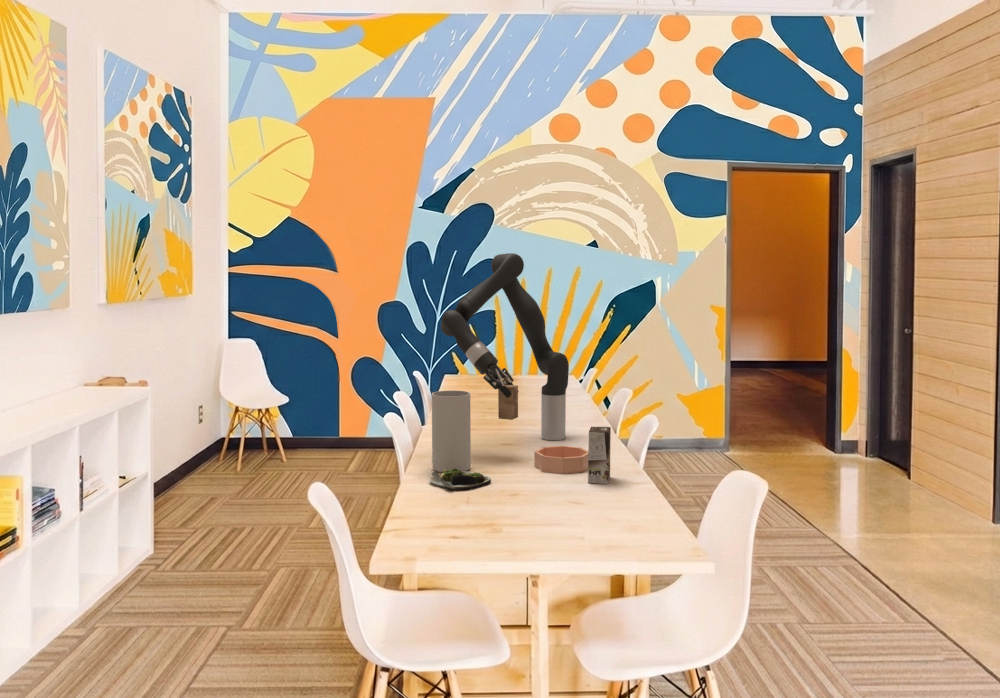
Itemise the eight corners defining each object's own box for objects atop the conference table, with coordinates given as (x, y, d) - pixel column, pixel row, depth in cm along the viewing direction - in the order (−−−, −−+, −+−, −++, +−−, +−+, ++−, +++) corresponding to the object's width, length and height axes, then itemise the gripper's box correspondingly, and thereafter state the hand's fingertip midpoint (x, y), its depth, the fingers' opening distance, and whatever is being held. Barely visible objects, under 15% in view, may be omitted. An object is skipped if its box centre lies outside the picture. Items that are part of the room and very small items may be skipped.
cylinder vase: (427, 466, 274) (426, 391, 271) (462, 462, 279) (462, 389, 276) (439, 475, 262) (439, 397, 260) (476, 471, 267) (476, 395, 265)
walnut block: (504, 416, 285) (504, 384, 284) (518, 417, 283) (517, 385, 282) (498, 418, 281) (498, 386, 280) (511, 419, 279) (511, 387, 278)
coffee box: (608, 484, 252) (609, 432, 250) (587, 483, 253) (588, 431, 251) (610, 476, 261) (611, 426, 259) (590, 475, 262) (590, 425, 260)
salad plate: (412, 483, 254) (412, 468, 254) (454, 472, 267) (454, 458, 267) (456, 495, 241) (456, 480, 241) (498, 483, 254) (498, 468, 254)
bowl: (548, 458, 285) (548, 444, 284) (595, 463, 277) (595, 449, 277) (528, 469, 269) (528, 454, 269) (577, 475, 262) (577, 460, 261)
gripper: (478, 352, 276) (511, 390, 273) (497, 348, 289) (529, 384, 285) (464, 367, 279) (496, 405, 275) (484, 362, 292) (515, 398, 288)
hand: (513, 394), depth 280 cm, fingers closed on walnut block, 5 cm apart
